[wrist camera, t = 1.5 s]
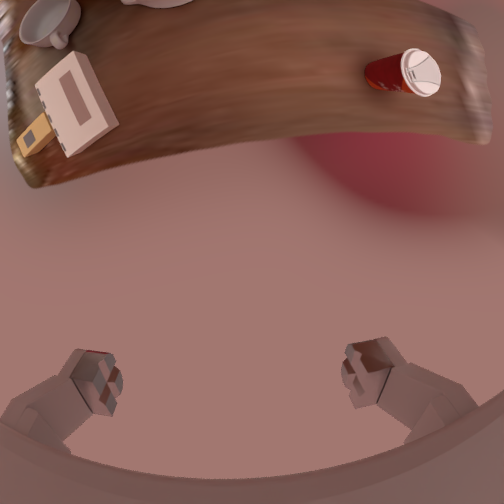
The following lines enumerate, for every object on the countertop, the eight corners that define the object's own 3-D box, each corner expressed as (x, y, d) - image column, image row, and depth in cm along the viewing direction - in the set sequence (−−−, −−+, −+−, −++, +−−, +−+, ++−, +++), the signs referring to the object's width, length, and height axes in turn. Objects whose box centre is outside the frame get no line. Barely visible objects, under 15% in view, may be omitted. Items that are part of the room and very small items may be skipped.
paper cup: (368, 99, 39) (416, 101, 27) (353, 61, 36) (398, 50, 23) (399, 90, 38) (449, 92, 26) (385, 54, 35) (433, 45, 22)
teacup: (39, 22, 22) (17, 15, 15) (84, -9, 21) (66, -22, 14) (48, 72, 29) (23, 70, 22) (95, 41, 28) (75, 31, 21)
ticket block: (49, 85, 30) (34, 84, 26) (86, 54, 29) (72, 50, 25) (80, 152, 38) (67, 157, 33) (119, 124, 37) (108, 126, 33)
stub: (31, 136, 34) (15, 140, 29) (57, 110, 33) (42, 112, 29) (38, 152, 36) (23, 157, 31) (65, 127, 35) (50, 130, 30)
